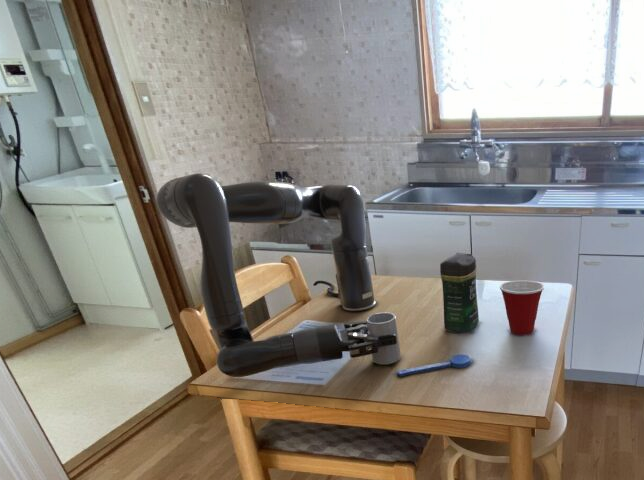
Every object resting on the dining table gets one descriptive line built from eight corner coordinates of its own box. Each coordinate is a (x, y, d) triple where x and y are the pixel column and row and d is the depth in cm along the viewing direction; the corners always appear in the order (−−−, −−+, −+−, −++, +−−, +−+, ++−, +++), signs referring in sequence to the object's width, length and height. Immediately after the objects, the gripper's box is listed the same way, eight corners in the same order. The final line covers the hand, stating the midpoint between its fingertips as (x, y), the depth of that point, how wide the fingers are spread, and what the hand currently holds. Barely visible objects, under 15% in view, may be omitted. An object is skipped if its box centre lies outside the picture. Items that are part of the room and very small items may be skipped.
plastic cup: (548, 323, 133) (549, 278, 127) (538, 341, 124) (538, 293, 118) (507, 320, 136) (506, 275, 130) (495, 337, 127) (493, 290, 121)
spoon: (399, 379, 111) (398, 375, 110) (396, 370, 115) (395, 366, 114) (473, 365, 115) (473, 361, 114) (467, 357, 119) (467, 352, 118)
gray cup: (367, 359, 119) (360, 319, 114) (388, 349, 123) (382, 310, 118) (385, 367, 115) (378, 326, 110) (406, 356, 119) (401, 316, 114)
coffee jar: (469, 336, 128) (464, 263, 119) (440, 332, 131) (433, 260, 122) (483, 321, 136) (480, 251, 127) (456, 318, 139) (450, 249, 129)
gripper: (315, 342, 105) (396, 329, 109) (313, 317, 117) (386, 305, 121) (322, 374, 109) (401, 361, 112) (319, 346, 120) (390, 335, 124)
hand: (393, 332), depth 117 cm, fingers closed on gray cup, 6 cm apart
